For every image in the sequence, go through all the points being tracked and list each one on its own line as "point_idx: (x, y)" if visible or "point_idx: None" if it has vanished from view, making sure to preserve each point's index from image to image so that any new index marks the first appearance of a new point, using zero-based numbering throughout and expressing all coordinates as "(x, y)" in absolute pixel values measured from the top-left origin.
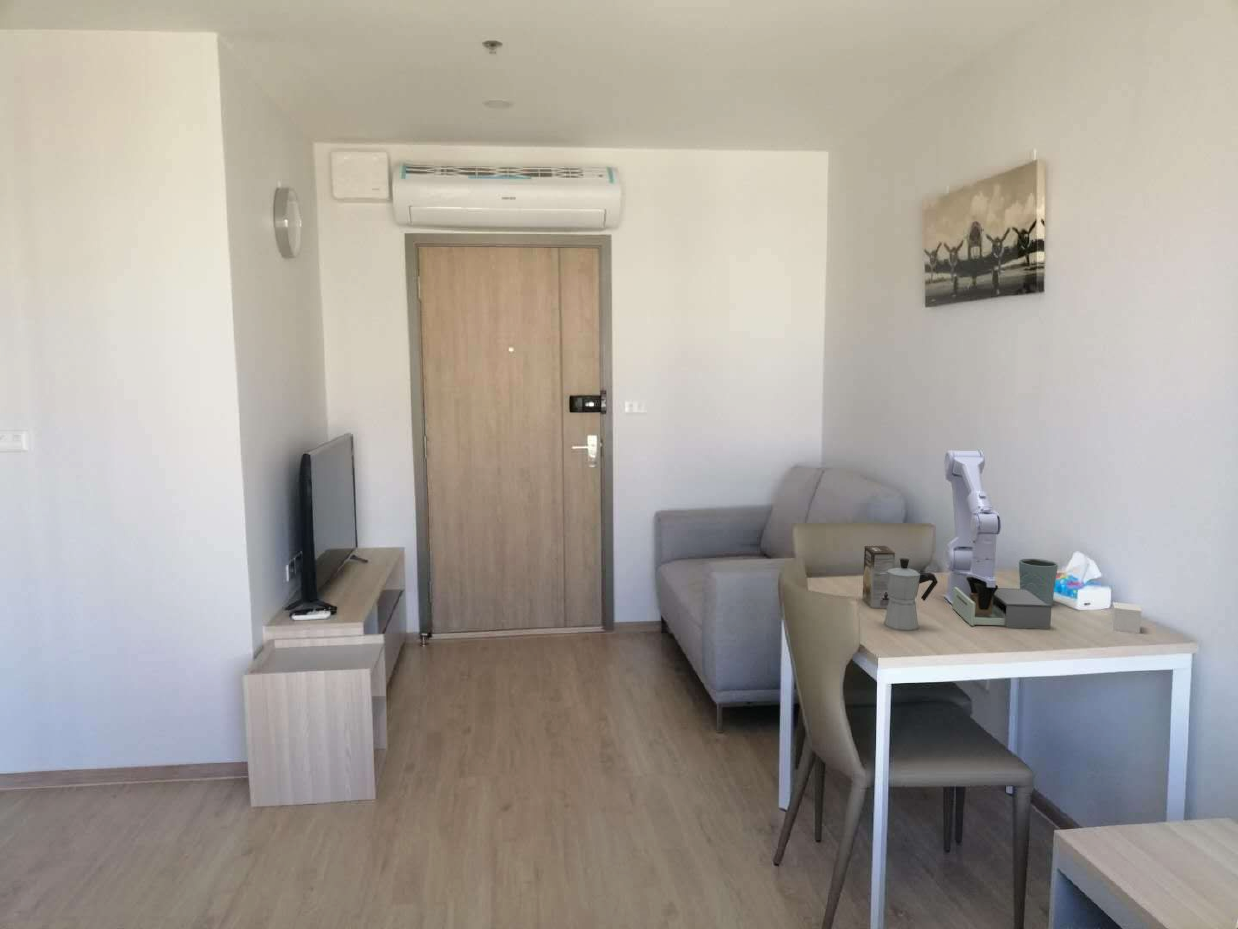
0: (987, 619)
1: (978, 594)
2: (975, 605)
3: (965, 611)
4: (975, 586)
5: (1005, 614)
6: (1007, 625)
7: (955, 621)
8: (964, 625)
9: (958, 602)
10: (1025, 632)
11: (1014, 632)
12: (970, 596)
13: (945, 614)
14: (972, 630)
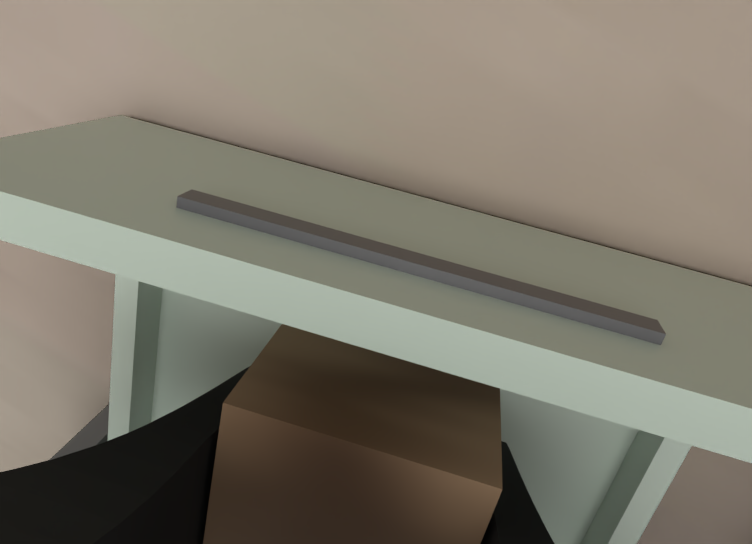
0: (119, 309)
1: (130, 457)
2: (268, 349)
3: (279, 188)
4: (58, 538)
5: None
6: (100, 419)
7: (312, 45)
8: (172, 69)
9: (590, 286)
10: (23, 457)
11: (12, 387)
12: (455, 444)
13: (594, 73)
14: (20, 61)
